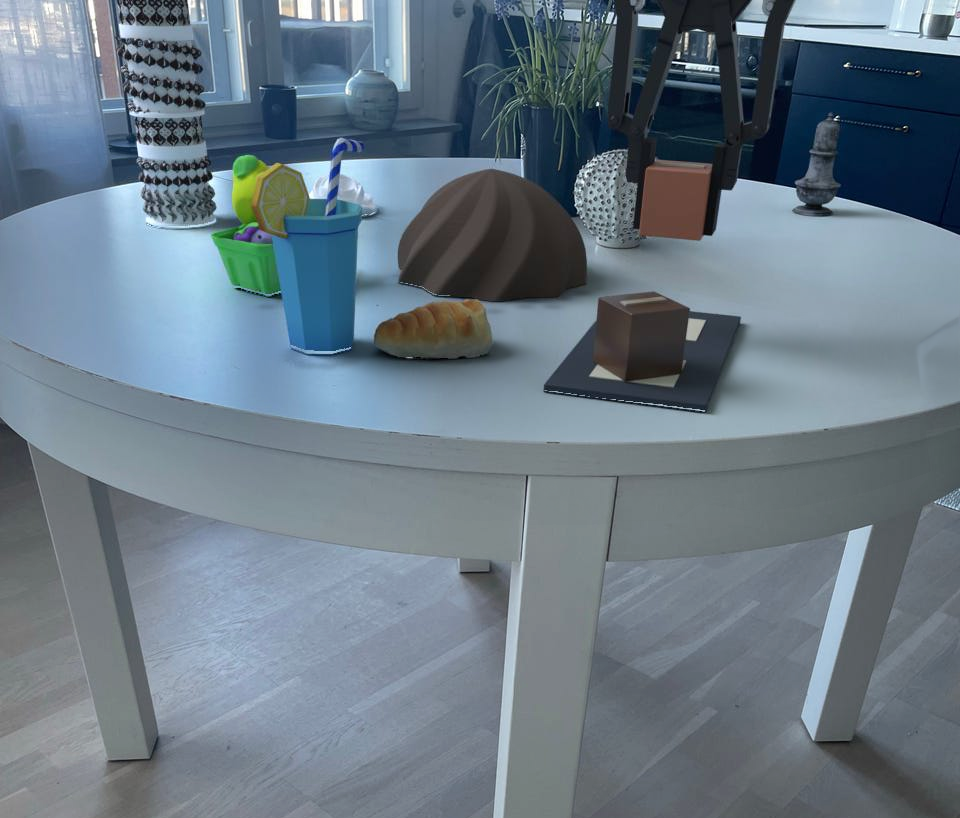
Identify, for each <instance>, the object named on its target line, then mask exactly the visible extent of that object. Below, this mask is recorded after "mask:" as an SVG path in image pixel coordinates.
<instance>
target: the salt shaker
mask: <svg viewBox="0 0 960 818" xmlns="http://www.w3.org/2000/svg"><path fill="white" fill-rule="evenodd" d="M827 116H828V118H826V119H825V120H821V121H820V122H819V123H818V124H817V126H816V130H815V134H814V141H813V146H812V149H810V150H809V153H810V159H809V163H808V169H807V172H806V174H805V176H804V177H802V178H800V179H797V180H795V181H794V184H795V185H796V188H795V191H796V192H795V193H796V197H797V198H798V200H799V201H800V202H802V203H803V205H802V204H801V205H797V206H796V207H794V208H792V209H791V212H792V213H794V214H796V215H797V214H798V215H801V216H802V215H803V216H809V217H829V216H832V215H834V212H833V210H831V209H830V208H829V207H827V206H823V205H827V204H829V203H831V202H832V201H833V200H834V199H835V197H836V195H837V193H838V190H839V188H840V187H841V183H839V182H836V180H835V179H834V175H833V170H834V169H833V168H834V165H835V164H834V163H835V159H836V156H837V155H838V154H839V152H838V150H837V145H838V140H839V135H840V129H841V127H840V124H839V122H837V121H835V120H834V118H833V117H834V114H833V112H832V111H830V112H829V113H828V115H827Z"/></svg>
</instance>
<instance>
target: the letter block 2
mask: <svg viewBox="0 0 960 818" xmlns="http://www.w3.org/2000/svg"><path fill="white" fill-rule="evenodd" d="M690 311H691V308H690V307H689V306H686V305H684V304H682V303H680V302H678V301H677V300H673V299H671V298H670V297H668V296H665V295H663V294H661V293H659V292H657V291H644V292H635V293H624V294H615V295H606V296H605V295H603V296H598V298H597V309H596V319H595V321H596V332H595V344H594V356H593V362H595V363H596V364H598V365H599V366H601V367H603V368H604V369H606V370H608V371H609V372H611V373H612V374H614V375H616V376H617V377H619V378H620V379H622V380H624V381H633V380H640V379H648V378H655V377H662V376H670V375H677V374H681V373H682V365H683V358H684V350H685V343H686V335H687V328H688V320H689V313H690Z"/></svg>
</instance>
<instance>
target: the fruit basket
mask: <svg viewBox="0 0 960 818" xmlns="http://www.w3.org/2000/svg"><path fill="white" fill-rule="evenodd" d="M269 168H270V167H268V165H267V164H266V163H265V162H263V160H260V159H258V157H257V156H255V155H251V154H245V155H241V156H238V157H237V158H235V160H234V162H233V164H232V184H233V185H232V191H231V203H232V208H233V211H234V214H235V215H236V217H237V218H238V220H239V221H240V222H241V225H239V226H238V225H237V226H234V227H231V228H226V229H223V230H219V231H216V232H215V231H214V232H212V233H210V238H211V239H212V241H213V244H214V246H215V247H216V248H217V251H218V254H219V255H220V258H221V261H222V263H223V265H224V266H223V267H224V268H225V271H226V274H227V276H228V279H229V281H230V283H231V286H232V285H234V286H241V287H243V288H247V289H251V290H254V291H259V292H262V293H265V294H272V293H275V292H278V291H281V287H280V282H279V276H278V270H277V264H276V258H275V252H274V246H273V241H272V235H271V234H269V233H266V232H264V231H261V230H260V228H259V225H258V222H257V220H256V217H255V215H254V212H253V209H252V207H251V203H252V198H253V194H254V190H255V186H256V181H257V177H258V176H259V175H261V174H262V173H263V172H265V171H266V170H267V169H269ZM234 290H237V289H236V288H234ZM246 292H247V293H249V292H248V291H246ZM250 293H251V294H253V293H252V292H250ZM254 294H255V295H257V294H256V293H254ZM259 295H262V294H259ZM279 295H282V293H280V294H277V295H276V296H279ZM262 296H263V295H262ZM274 296H275V295H273V296H265V297H267V298H270V297H274Z"/></svg>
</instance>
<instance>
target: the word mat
mask: <svg viewBox="0 0 960 818" xmlns="http://www.w3.org/2000/svg"><path fill="white" fill-rule="evenodd" d="M741 320H742V316H740V315H730V314H722V313H711V312H701V311H693V310H690V313H689V320H688V328H687V335H686V343H685V350H684V358H683V365H682V373H681V374H677V375H670V376H662V377H655V378H648V379H640V380H633V381H624V380H622V379H620V378H619V377H617V376H616V375H614V374H612V373H611V372H609V371H608V370H606V369H604V368H603V367H601V366H599V365H598V364H596V363H595V362H593V356H594V344H595V332H596V320H595V321H594V322H593V324H592V325H591V326H590V327H589V329H588V330H587V331H586V332H585V334H583V336H582V337H581V338H580V339H579V341H577V343H576V345H575V346H574V347H573V348H572V349H571V350H570V352H569V353H568V355H567V356H566V357H565V358H564V359H563V360H562V362H561V363H560V364H559V366H558V367H557V368H556V369H555V370H554V371H553V373H552V374H550V375H551V376H550V377H549V378H548V379H547V380H546V381H545V383H544V384H543V392H544V393H550V394H557V395H565V396H571V397H572V396H573V397H579V398H588V399H596V400H604V401H609V402H610V401H611V402H617V403H618V402H619V403H625V404H632V405H633V404H634V405H640V406H641V405H642V406H649V407H657V408H666V409H672V410H681V411H688V412H695V413H702V414H703V413H704V414H705V413H706V412H702V411H695V410H687V409H679V408H672V407H664V406H656V405H648V404H641V403H633V402H643V403H653V404H663V405H667V406H677V407H683V408H692V409H700V410H706V411H707V410H708V407H709V404H710V402H711V399H712V396H713V394H714V392H715V389H716V386H717V384H718V381H719V378H720V376H721V373H722V371H723V368H724V365H725V363H726V360H727V357H728V355H729V353H730V350H731V347H732V345H733V343H734V340H735V337H736V334H737V332H738V329H739V327H740V325H741ZM716 383H717V384H716ZM715 385H716V386H715ZM714 388H715V389H714ZM544 390H547V391H544ZM548 391H558V392H563V393H556V392H548ZM564 393H571V394H577V395H571V394H564ZM712 393H713V394H712ZM579 395H585V396H579ZM587 396H590V397H587ZM594 397H598V398H594ZM602 398H606V399H602ZM710 398H711V399H710ZM610 399H616V400H610ZM618 400H624V401H618ZM625 401H633V402H625ZM709 401H710V402H709ZM708 403H709V404H708ZM707 406H708V407H707ZM706 408H707V409H706Z"/></svg>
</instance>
